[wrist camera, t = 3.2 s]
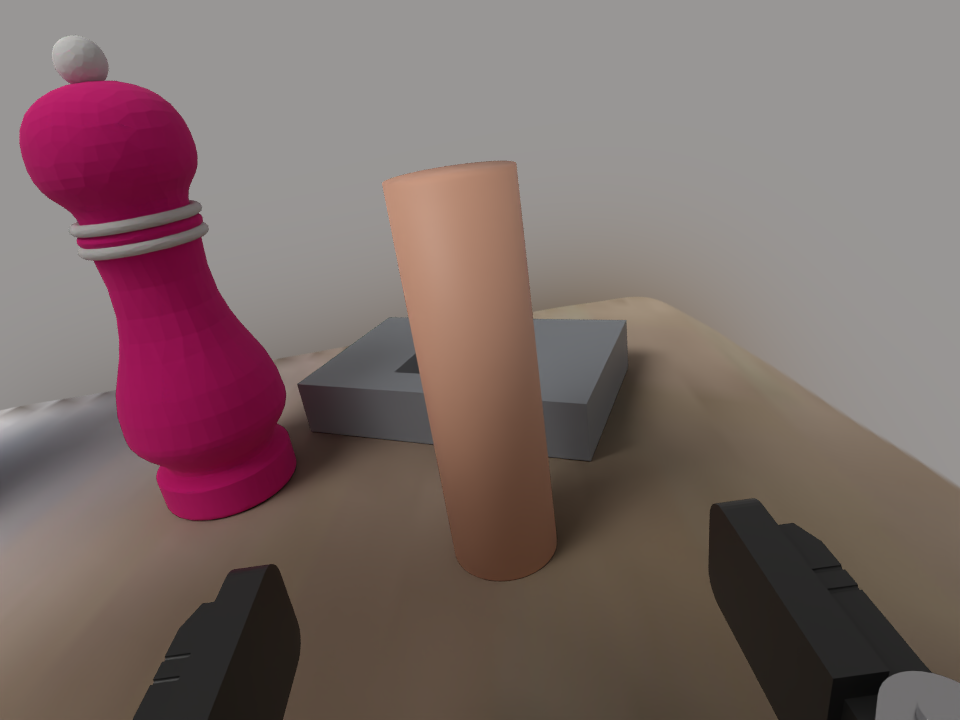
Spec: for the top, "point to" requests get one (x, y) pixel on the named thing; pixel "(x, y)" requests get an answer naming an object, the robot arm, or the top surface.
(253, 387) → the pepper mill
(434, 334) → the dowel
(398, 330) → the socket block
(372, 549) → the top surface
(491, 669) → the top surface
